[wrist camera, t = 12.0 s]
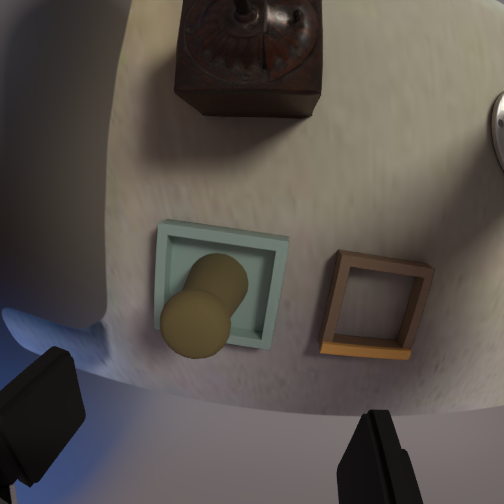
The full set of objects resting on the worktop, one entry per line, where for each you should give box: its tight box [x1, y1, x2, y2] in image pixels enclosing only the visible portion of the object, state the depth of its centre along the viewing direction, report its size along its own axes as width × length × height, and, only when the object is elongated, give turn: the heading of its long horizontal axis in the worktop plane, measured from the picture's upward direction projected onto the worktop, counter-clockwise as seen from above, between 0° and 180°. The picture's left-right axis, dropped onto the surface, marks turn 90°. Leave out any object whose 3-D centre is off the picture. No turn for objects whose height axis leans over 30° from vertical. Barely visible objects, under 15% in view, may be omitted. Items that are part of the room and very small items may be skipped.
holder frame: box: [318, 250, 435, 360], centre depth 30 cm, size 10×10×2 cm
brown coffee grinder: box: [174, 0, 323, 119], centre depth 18 cm, size 16×11×18 cm
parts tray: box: [154, 219, 289, 350], centre depth 31 cm, size 12×11×2 cm
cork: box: [160, 253, 249, 359], centre depth 26 cm, size 6×6×11 cm
